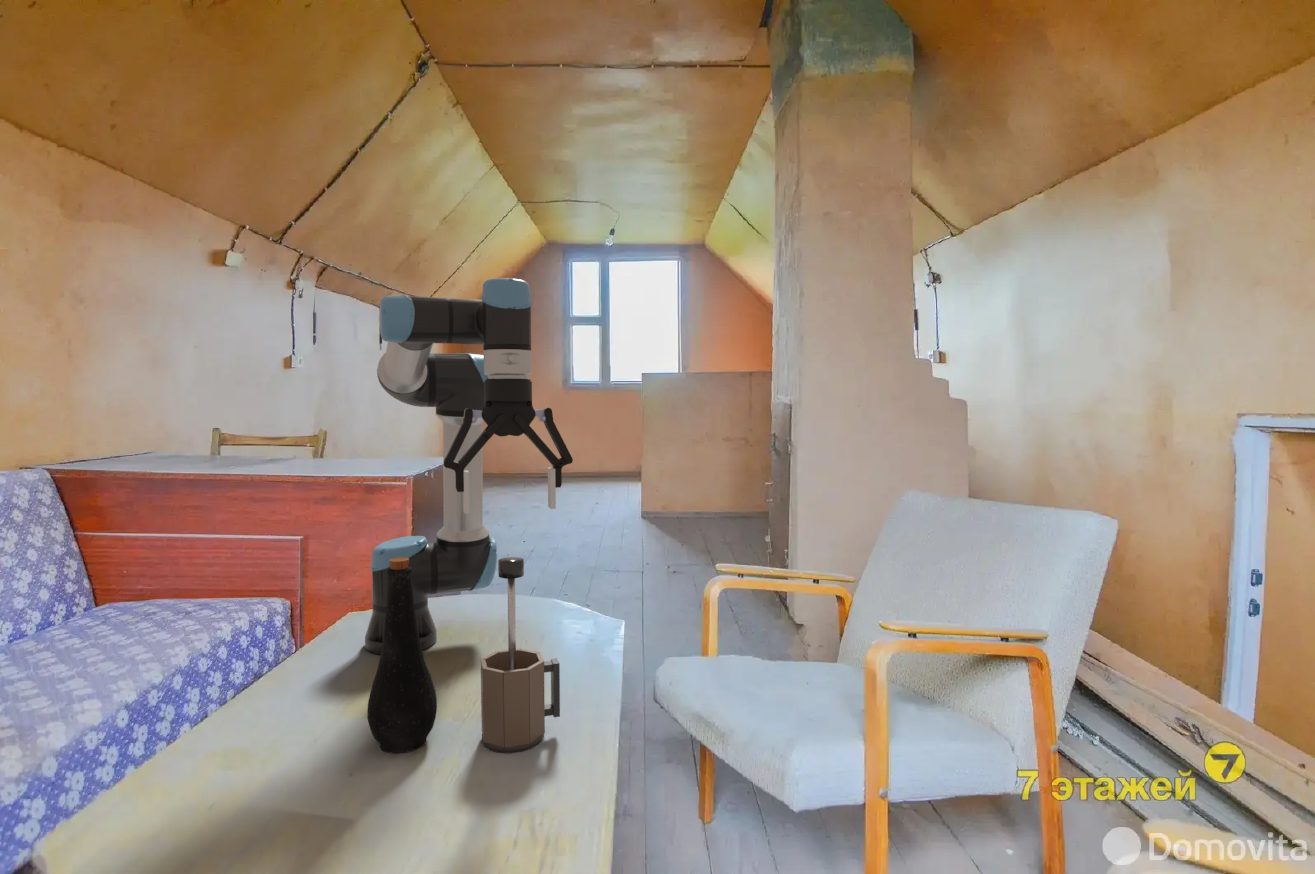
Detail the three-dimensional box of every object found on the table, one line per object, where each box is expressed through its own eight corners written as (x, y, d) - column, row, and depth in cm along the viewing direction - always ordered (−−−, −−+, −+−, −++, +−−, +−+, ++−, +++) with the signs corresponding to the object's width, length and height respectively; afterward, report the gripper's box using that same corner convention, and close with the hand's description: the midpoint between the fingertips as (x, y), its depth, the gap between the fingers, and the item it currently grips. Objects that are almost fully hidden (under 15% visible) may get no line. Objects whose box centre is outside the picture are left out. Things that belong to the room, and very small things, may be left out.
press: (479, 728, 122) (478, 652, 121) (553, 717, 126) (552, 644, 125) (484, 757, 112) (483, 675, 111) (564, 744, 116) (564, 665, 115)
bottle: (416, 762, 111) (412, 569, 109) (354, 755, 113) (348, 565, 111) (449, 730, 121) (446, 553, 119) (392, 724, 123) (387, 550, 121)
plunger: (489, 681, 120) (487, 556, 119) (530, 675, 122) (529, 553, 121) (493, 697, 114) (491, 566, 112) (536, 691, 116) (535, 563, 114)
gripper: (426, 376, 108) (429, 518, 109) (589, 377, 116) (591, 509, 117) (425, 378, 115) (428, 510, 116) (579, 378, 123) (580, 502, 124)
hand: (509, 510), depth 117 cm, fingers open, 13 cm apart
